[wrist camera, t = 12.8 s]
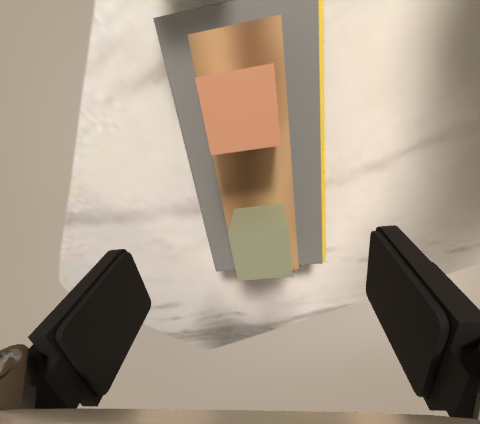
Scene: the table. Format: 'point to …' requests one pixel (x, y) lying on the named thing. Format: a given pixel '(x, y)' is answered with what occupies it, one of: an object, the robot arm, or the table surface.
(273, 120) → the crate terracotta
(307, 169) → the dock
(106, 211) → the table surface
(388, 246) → the robot arm
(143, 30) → the table surface
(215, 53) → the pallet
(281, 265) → the block
